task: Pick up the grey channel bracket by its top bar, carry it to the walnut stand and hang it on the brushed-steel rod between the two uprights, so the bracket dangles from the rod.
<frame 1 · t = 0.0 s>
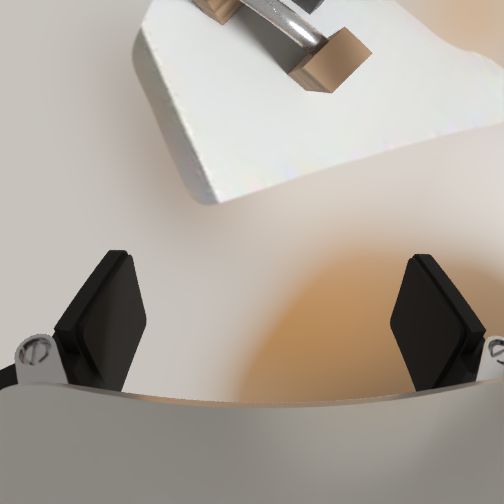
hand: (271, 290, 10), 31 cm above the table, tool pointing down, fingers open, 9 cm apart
hook stand: (268, 34, 31), on the table
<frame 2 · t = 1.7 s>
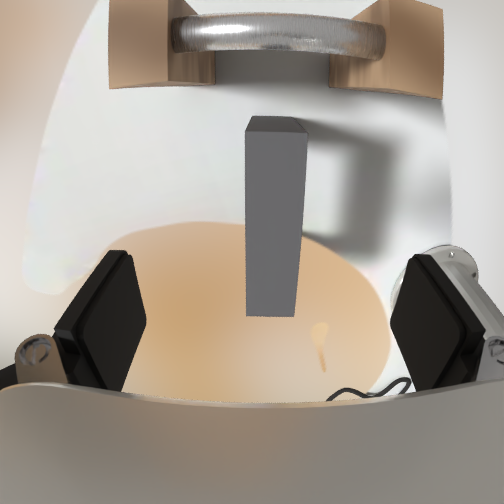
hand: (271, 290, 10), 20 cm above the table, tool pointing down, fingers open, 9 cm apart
hook stand: (272, 57, 24), on the table
cable: (355, 404, 48), on the table
grey channel bracket: (270, 184, 30), on the table
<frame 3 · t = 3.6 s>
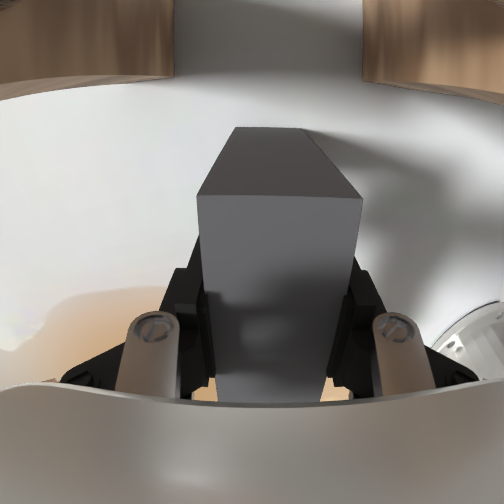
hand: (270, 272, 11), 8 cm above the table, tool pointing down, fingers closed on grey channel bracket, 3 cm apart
hook stand: (269, 29, 13), on the table
grey channel bracket: (266, 236, 19), on the table, touching gripper
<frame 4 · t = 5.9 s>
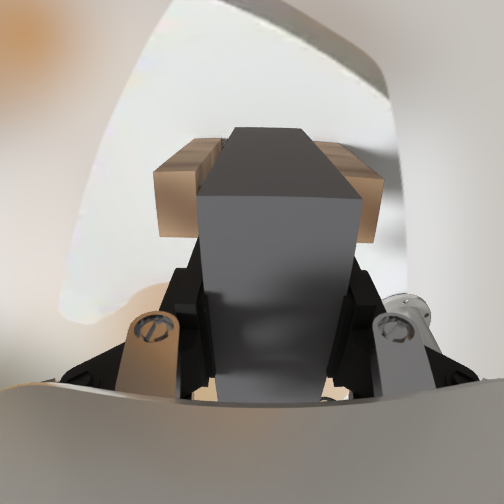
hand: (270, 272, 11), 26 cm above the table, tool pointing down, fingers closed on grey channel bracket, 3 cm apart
hook stand: (266, 160, 34), on the table
grey channel bracket: (266, 236, 19), point 18 cm above the table, touching gripper
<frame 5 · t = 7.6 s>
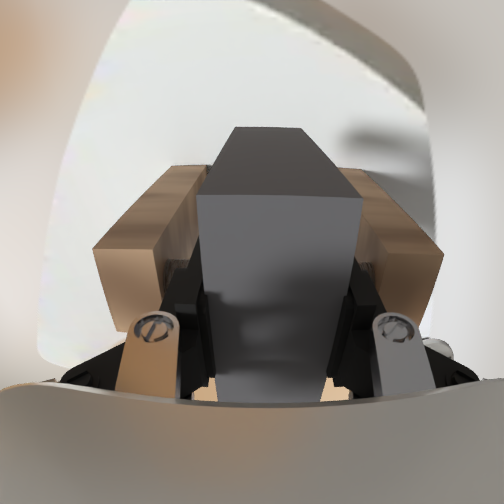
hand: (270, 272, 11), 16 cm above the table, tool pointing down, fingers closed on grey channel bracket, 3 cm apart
hook stand: (266, 193, 27), on the table
grey channel bracket: (266, 236, 19), point 9 cm above the table, touching gripper
when the fingers open (14 cm above the table, at t = 8.3 s): grey channel bracket drops 1 cm, resting on hook stand.
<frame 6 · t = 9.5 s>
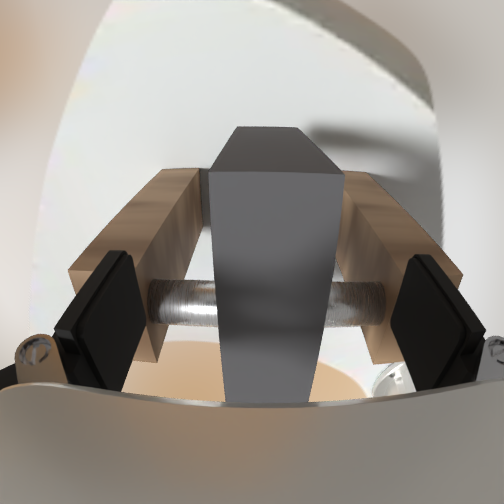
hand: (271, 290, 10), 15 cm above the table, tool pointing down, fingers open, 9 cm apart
hook stand: (264, 198, 25), on the table
grey channel bracket: (265, 228, 21), point 5 cm above the table, touching hook stand
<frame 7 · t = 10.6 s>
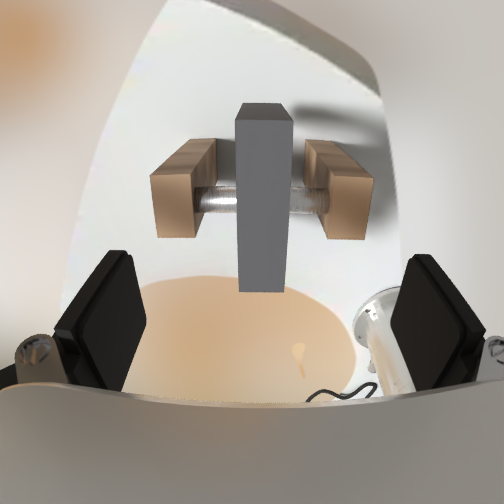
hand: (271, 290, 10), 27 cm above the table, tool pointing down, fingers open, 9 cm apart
hook stand: (260, 159, 35), on the table
cable: (332, 402, 60), on the table
grey channel bracket: (261, 167, 31), point 5 cm above the table, touching hook stand
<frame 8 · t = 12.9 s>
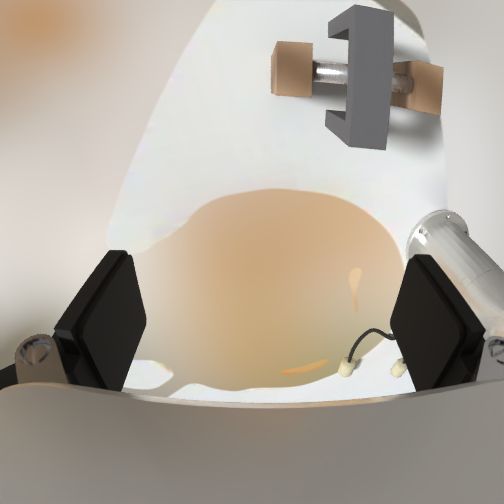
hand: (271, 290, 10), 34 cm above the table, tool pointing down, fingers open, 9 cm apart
hook stand: (332, 78, 36), on the table
cable: (378, 346, 61), on the table
grey channel bracket: (342, 74, 31), point 5 cm above the table, touching hook stand
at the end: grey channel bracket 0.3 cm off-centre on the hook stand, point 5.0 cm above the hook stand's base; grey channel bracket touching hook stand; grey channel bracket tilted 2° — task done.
